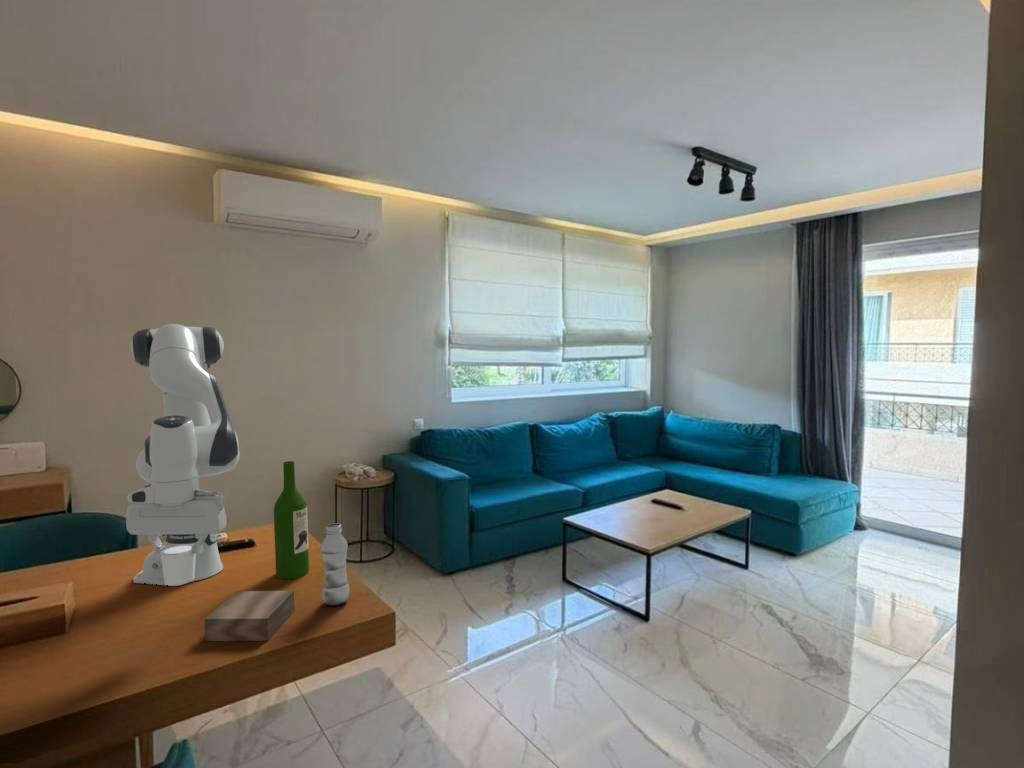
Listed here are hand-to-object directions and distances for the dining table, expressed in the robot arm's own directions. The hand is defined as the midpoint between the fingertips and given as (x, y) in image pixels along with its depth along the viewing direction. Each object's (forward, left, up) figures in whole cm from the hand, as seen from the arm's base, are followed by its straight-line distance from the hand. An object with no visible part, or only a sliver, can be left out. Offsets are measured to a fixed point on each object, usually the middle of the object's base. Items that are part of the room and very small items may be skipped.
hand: (178, 552), depth 118 cm
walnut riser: (+12, +7, -20) cm, 24 cm away
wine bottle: (+9, +37, -20) cm, 43 cm away
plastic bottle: (+28, +18, -20) cm, 39 cm away
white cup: (0, 0, -6) cm, 6 cm away
